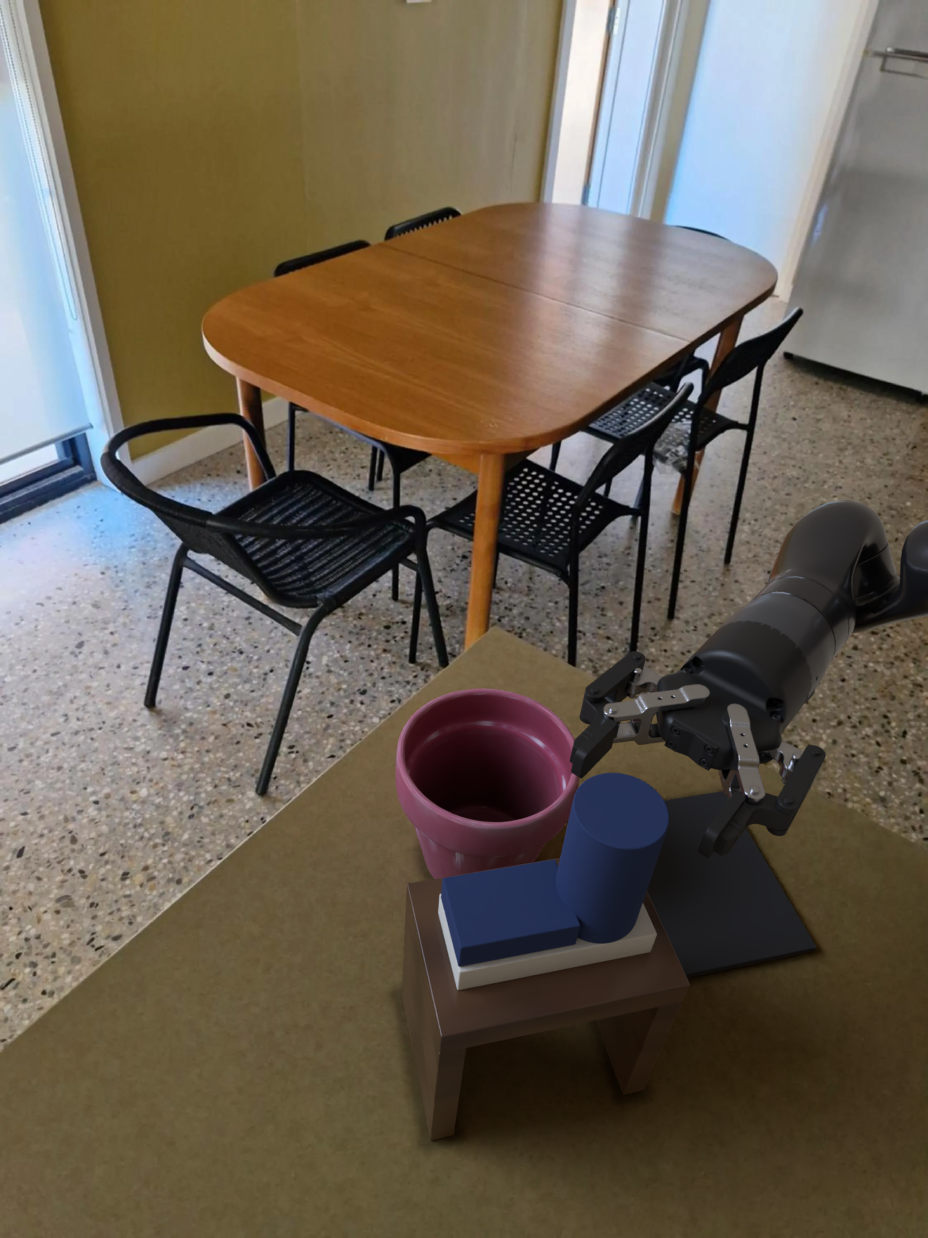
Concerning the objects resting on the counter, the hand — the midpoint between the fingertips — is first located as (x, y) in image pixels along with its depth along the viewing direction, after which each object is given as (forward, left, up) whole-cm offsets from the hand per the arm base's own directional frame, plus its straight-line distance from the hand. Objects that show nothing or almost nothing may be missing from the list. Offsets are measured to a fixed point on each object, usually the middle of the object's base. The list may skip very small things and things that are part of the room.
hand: (639, 805), depth 51 cm
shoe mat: (+8, -14, -23) cm, 28 cm away
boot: (-2, +5, -9) cm, 10 cm away
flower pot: (+14, +4, -23) cm, 28 cm away
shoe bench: (-2, +5, -23) cm, 24 cm away
